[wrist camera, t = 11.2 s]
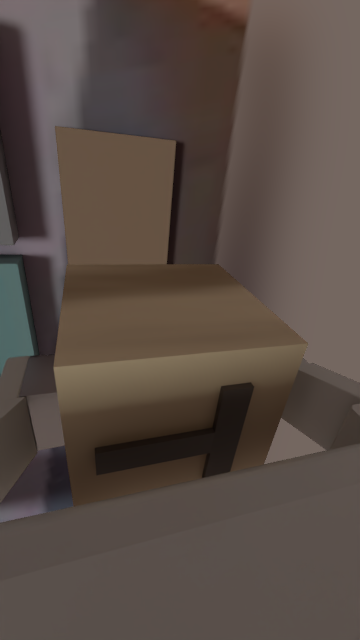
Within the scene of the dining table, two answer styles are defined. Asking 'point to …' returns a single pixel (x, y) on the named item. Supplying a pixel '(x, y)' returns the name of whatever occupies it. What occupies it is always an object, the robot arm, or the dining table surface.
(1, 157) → the gray bin
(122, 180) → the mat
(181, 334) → the letter cube
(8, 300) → the teal bin
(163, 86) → the dining table surface
